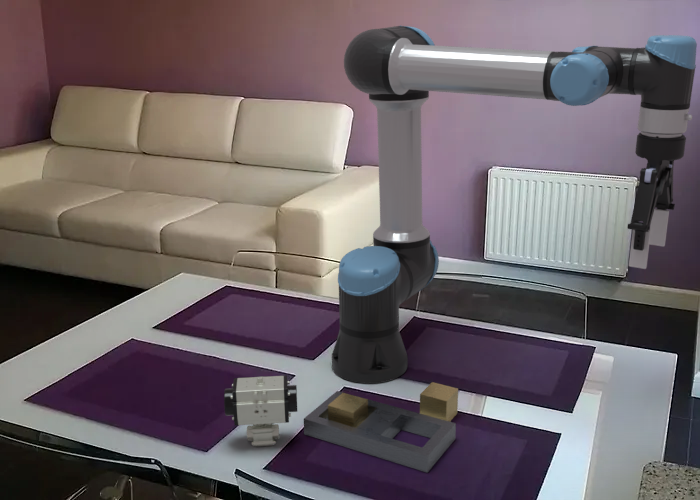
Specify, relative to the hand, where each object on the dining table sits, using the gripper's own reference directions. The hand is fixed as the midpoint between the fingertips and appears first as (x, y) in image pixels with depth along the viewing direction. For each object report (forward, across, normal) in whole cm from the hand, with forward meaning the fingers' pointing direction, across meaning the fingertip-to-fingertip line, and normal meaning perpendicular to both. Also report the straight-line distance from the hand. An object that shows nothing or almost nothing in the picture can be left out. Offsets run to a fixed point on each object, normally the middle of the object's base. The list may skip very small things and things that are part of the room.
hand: (647, 255), depth 136 cm
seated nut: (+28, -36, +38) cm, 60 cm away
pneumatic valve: (+28, -48, +48) cm, 73 cm away
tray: (+27, -36, +32) cm, 56 cm away
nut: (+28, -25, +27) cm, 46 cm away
